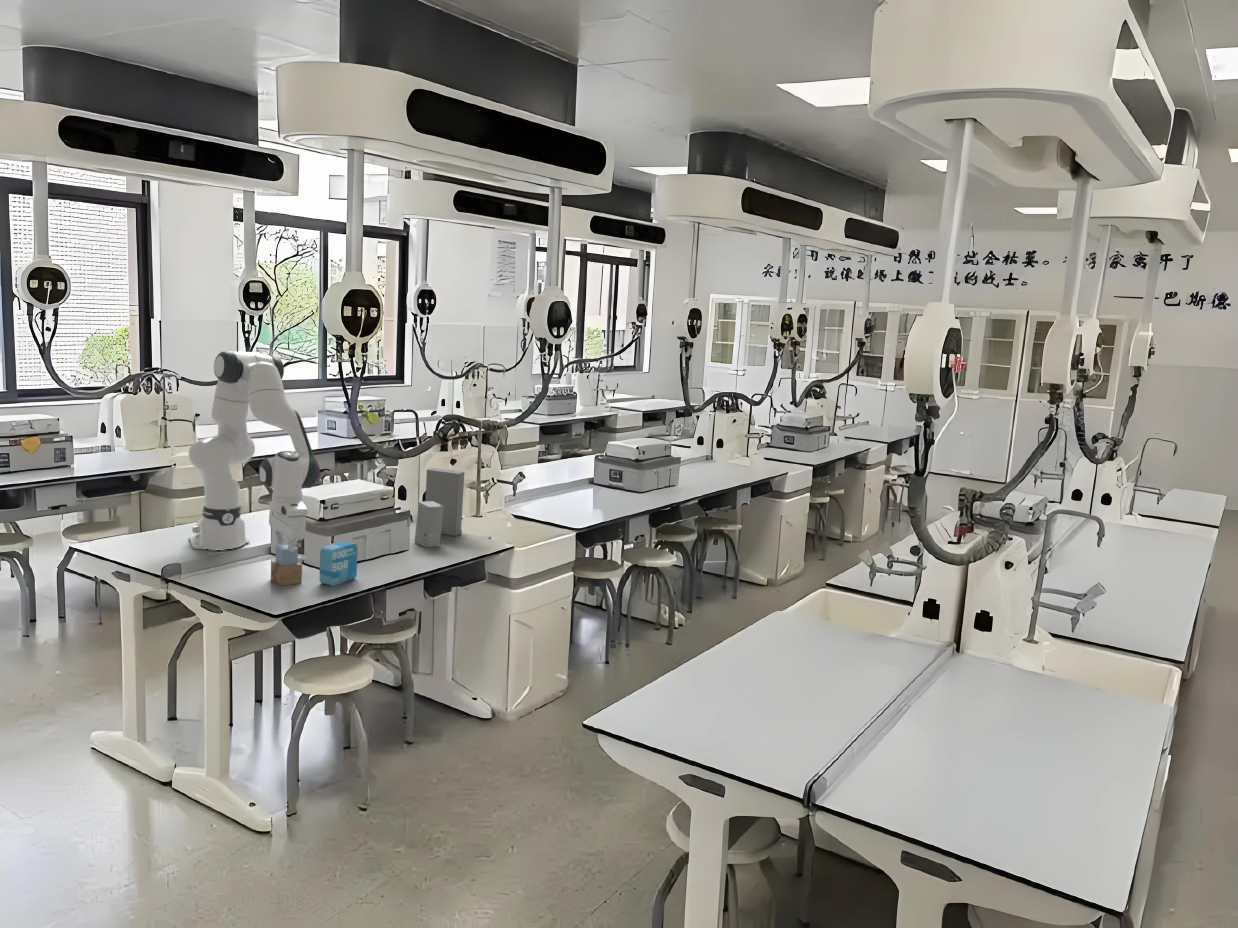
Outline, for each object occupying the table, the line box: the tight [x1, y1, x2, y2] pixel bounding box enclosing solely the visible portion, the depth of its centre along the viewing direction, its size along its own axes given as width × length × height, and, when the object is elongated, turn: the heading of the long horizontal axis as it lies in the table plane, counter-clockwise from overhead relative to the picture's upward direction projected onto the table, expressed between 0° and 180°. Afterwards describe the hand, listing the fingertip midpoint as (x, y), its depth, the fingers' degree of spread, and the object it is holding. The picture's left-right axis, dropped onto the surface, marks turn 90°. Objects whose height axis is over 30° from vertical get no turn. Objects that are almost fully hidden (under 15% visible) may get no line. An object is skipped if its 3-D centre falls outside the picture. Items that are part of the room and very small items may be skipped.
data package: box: [318, 541, 358, 587], centre depth 291 cm, size 12×4×12 cm, turn 153°
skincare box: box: [414, 501, 444, 548], centre depth 343 cm, size 8×7×16 cm
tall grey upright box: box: [424, 467, 465, 537], centre depth 361 cm, size 14×6×25 cm, turn 77°
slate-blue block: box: [275, 544, 299, 566], centre depth 287 cm, size 5×5×5 cm
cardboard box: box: [270, 560, 303, 587], centre depth 288 cm, size 7×7×6 cm
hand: (285, 547), depth 286 cm, fingers open, 8 cm apart
